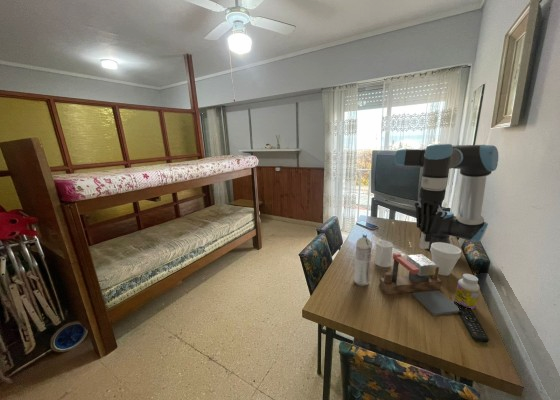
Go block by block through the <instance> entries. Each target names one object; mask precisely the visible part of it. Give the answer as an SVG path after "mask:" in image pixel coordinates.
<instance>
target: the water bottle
mask: <svg viewBox="0 0 560 400" xmlns="http://www.w3.org/2000/svg"><path fill="white" fill-rule="evenodd" d="M355 245H356V247H355V258H354V259H355V260H354V271H353V272H354V275H353V280H354V282H355V284H357V285H359V286H361V287H362V286H363V287H365V286H368V285H369V283H370V272H371V263H372V261H371V260H372V259H371V257H372V247H373V243H372V241H371V240H370V238H368V235H367V234H366V233H362V237H360V238H358V240H357V241H356V242H355Z"/></svg>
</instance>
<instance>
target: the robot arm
mask: <svg viewBox="0 0 560 400" xmlns="http://www.w3.org/2000/svg"><path fill="white" fill-rule="evenodd" d="M393 160H394V164H395V165H396V166H400V167H411V168H412V167H413V168H422V177H421V184H420V187H421V188H420V189H419V195H418V197H419V198H420V201H419V202H414V206H415V211H416V214H415V215H416V216H415V217H416V227H417V228H418V229H419V230H420V233H419V239H420V240H419V246H418V248H419V249H421V250H428V251H430V249H431V244H432V243H435V242H442V243H448V244H451V240H450V236H451V237H455V238H459V239H462V240H467V241H468V242H475V243H479V242H480V241H481V240H482V239H483V237H484V235H485V233H486V231H487V229H488V225H489V223H488V222H486V221H485V217H483V215H482V209H483V202H484V196H485V188H486V184H487V182H486V181H487V177H489V175H491V174H492V172H494V171H496V170H497V167H498V165H499V164H498V163H499V151H498V148H497V146H495V145H490V144H489V145H488V144H487V145H486V144H453V145H452V144H451V143H434V144H433V143H431V144H428V145H427V146H426V147H425V148H415V147H413V148H412V147H409V148H407V147H404V148H402V147H401V148H398V149H397V150H396V152H395V153H394V159H393ZM451 169H456V170H459V174H460V175H461V176H463V178H462V179H463V180H462V188H461V199H460V210H459V211H460V212H459V213H458V214H457V215H456V216H455V215H454V212H451V211H446V210H443V208H442V207H443V206H442V202H443V201H444V200H445V196H446V189H447V185H448V179H449V172H450V170H451Z"/></svg>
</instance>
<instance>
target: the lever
mask: <svg viewBox="0 0 560 400" xmlns="http://www.w3.org/2000/svg"><path fill="white" fill-rule="evenodd" d="M392 259H393V261H394V260H396V261H397V262H398V263H399V265H401V266H402V267H403V268H405V269H406V270H407V271H408V272H409V271H410V272H411V273H412V274H417V273H419V269H418V268H417V267H416V266H414V265H413V264H412V263H410V262H409V261H407V259H406V258H405V257H403V256H402V254H400V253H396V252H395V253H392Z"/></svg>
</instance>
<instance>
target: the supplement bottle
mask: <svg viewBox="0 0 560 400" xmlns="http://www.w3.org/2000/svg"><path fill="white" fill-rule="evenodd" d="M478 282H479V278H478V277H477V276H475V275H473V274H471V273H463V274H462V278H460V279H458V281H457V284H456V285H457V287H456V291H455V295H454V302H455V303H456V302H457V303H459V304H462V305H464V306H467V307H469V308H471V309H470V310H472V309H474V308H475V307H476V306H477V301H478V297H479V293H480V285H479V284H478ZM457 303H456V304H457Z"/></svg>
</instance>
